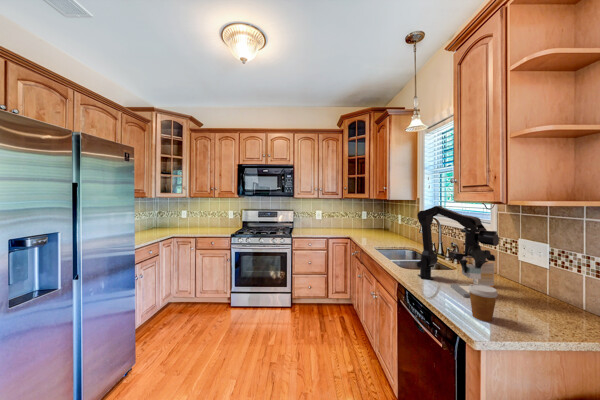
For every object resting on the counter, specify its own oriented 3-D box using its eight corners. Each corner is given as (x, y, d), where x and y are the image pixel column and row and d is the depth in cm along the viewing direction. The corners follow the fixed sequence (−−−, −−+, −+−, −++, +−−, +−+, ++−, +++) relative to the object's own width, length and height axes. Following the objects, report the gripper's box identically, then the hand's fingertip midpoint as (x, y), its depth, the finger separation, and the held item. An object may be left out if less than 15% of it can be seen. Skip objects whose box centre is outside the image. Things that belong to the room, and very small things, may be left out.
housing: (469, 278, 117) (469, 268, 116) (461, 273, 123) (462, 264, 123) (480, 278, 116) (481, 268, 116) (472, 274, 123) (472, 264, 123)
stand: (450, 286, 127) (450, 283, 127) (477, 288, 125) (477, 285, 125) (464, 297, 114) (464, 293, 114) (493, 298, 113) (493, 295, 112)
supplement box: (488, 284, 131) (488, 260, 131) (494, 287, 126) (494, 262, 126) (472, 283, 132) (472, 260, 132) (477, 286, 127) (478, 262, 127)
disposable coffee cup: (471, 309, 102) (471, 281, 102) (499, 318, 95) (500, 288, 95) (464, 317, 96) (465, 287, 95) (494, 326, 88) (495, 294, 88)
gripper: (460, 244, 112) (459, 277, 113) (503, 246, 110) (503, 279, 110) (448, 240, 123) (448, 270, 124) (488, 241, 121) (487, 272, 122)
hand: (471, 273), depth 120 cm, fingers closed on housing, 5 cm apart
